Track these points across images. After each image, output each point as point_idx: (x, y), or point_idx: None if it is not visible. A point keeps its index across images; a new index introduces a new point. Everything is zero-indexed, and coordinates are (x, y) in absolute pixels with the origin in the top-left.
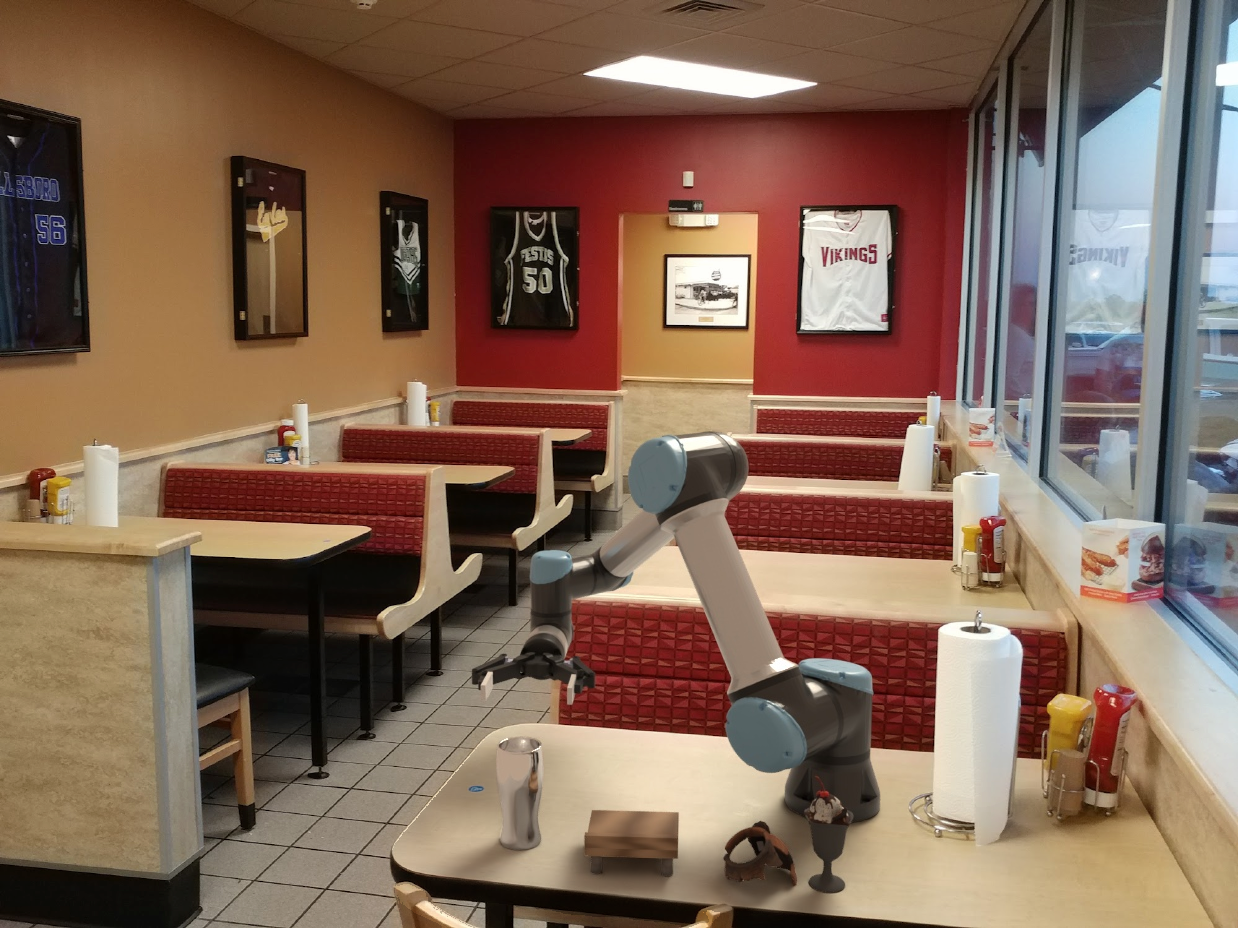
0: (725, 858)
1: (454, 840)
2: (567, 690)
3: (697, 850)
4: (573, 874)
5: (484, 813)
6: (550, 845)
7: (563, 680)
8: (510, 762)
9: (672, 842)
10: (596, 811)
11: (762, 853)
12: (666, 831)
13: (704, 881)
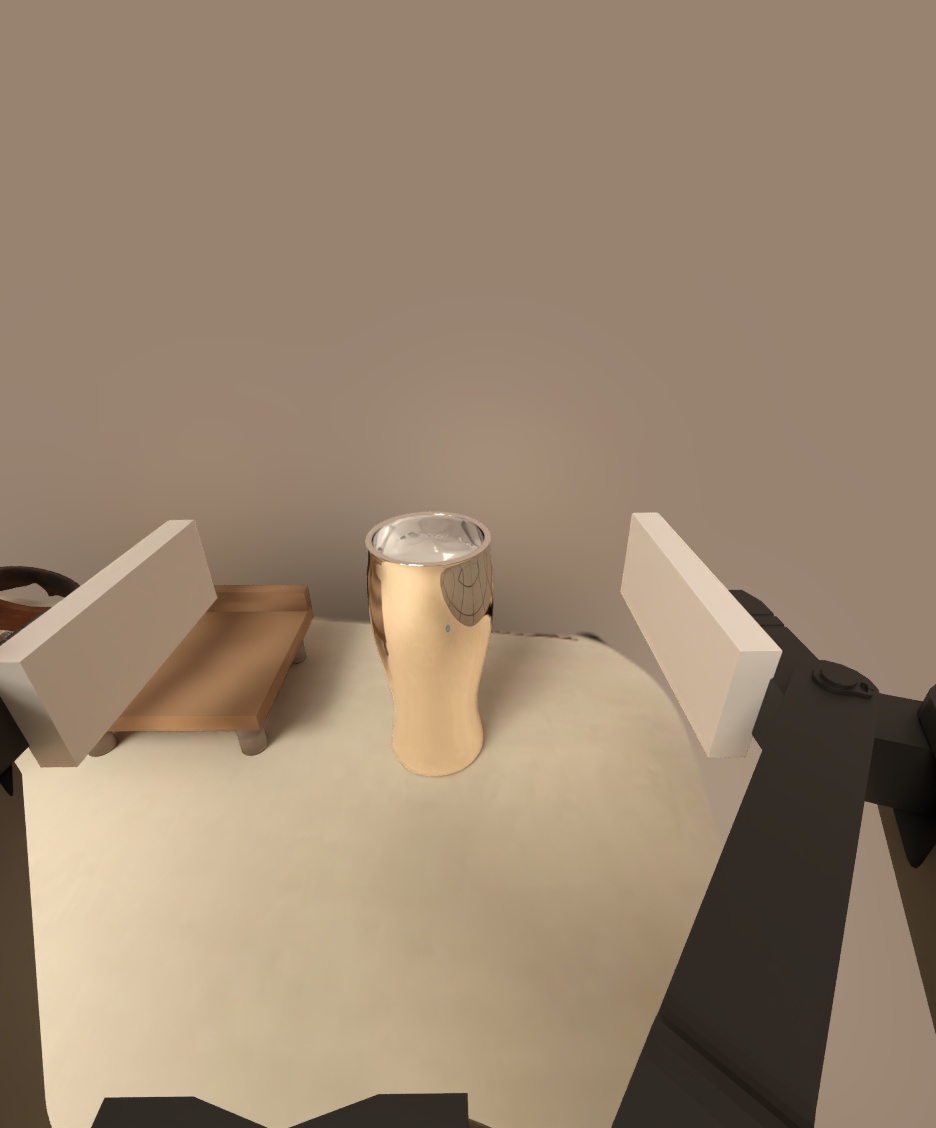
0: None
1: (584, 732)
2: (196, 533)
3: None
4: (336, 649)
5: (567, 872)
6: (371, 725)
7: (26, 934)
8: (447, 534)
9: None
10: (247, 710)
11: (30, 567)
12: None
13: None
